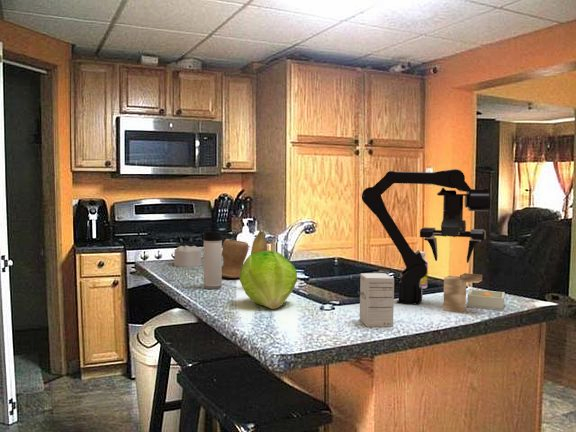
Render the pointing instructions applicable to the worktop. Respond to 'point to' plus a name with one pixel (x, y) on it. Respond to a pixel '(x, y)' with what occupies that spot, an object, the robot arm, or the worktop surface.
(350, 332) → the worktop surface
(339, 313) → the worktop surface
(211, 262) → the travel mug
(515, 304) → the worktop surface
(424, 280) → the supplement bottle
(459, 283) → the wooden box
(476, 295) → the tray
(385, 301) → the supplement box
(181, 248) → the lumpy-topped squat cylinder
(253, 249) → the vegetable
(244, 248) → the stone cup
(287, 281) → the lettuce
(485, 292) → the ball
